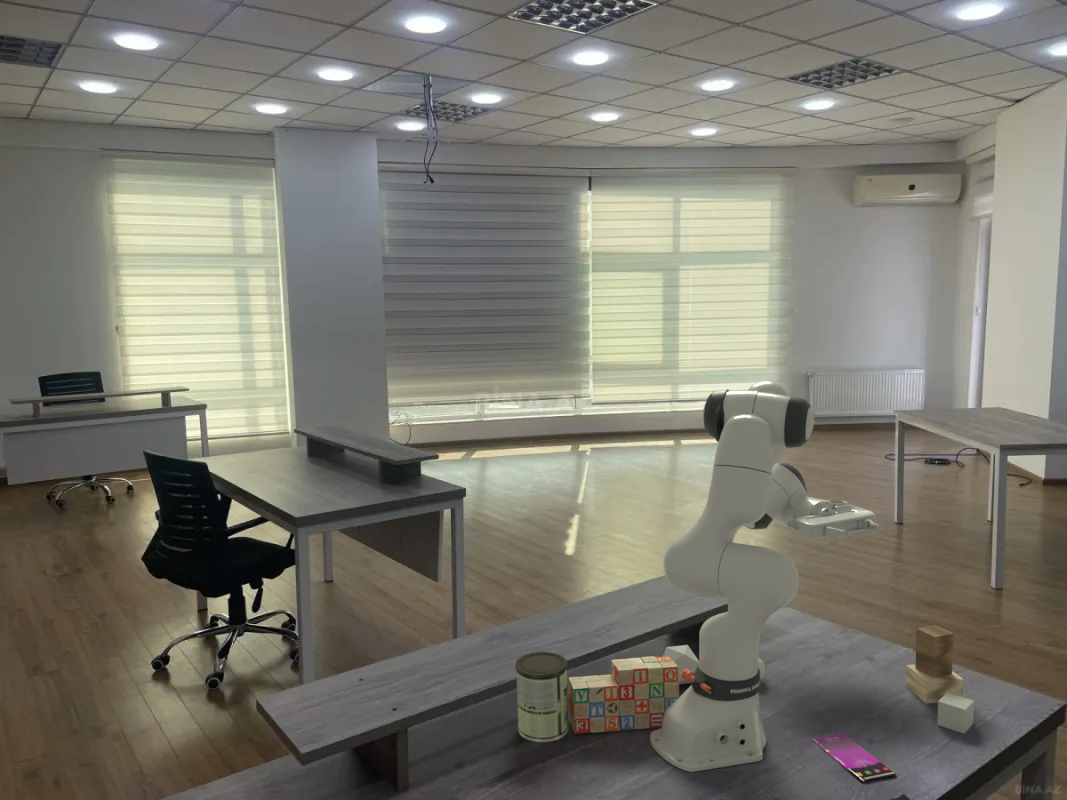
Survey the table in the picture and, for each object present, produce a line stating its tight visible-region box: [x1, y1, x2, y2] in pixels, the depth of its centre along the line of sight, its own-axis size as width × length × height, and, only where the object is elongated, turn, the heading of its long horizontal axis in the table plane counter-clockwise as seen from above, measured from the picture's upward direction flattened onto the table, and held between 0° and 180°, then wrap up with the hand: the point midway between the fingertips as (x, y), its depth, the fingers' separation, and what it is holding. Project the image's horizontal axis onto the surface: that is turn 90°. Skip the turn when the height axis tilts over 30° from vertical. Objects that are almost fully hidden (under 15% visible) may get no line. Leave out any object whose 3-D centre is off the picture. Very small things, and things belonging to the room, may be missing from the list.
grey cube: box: [936, 692, 975, 734], centre depth 162 cm, size 5×5×5 cm
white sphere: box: [758, 657, 766, 680], centre depth 184 cm, size 8×6×6 cm
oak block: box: [905, 663, 964, 704], centre depth 175 cm, size 8×8×5 cm
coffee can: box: [515, 651, 570, 743], centre depth 164 cm, size 10×10×14 cm
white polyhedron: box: [661, 644, 699, 686], centre depth 183 cm, size 8×9×10 cm
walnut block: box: [915, 624, 955, 678], centre depth 175 cm, size 5×5×9 cm
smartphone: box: [812, 733, 897, 784], centre depth 152 cm, size 7×15×1 cm, turn 15°
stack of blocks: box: [568, 655, 680, 735], centre depth 165 cm, size 21×6×12 cm, turn 97°
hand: (861, 532), depth 184 cm, fingers open, 8 cm apart
